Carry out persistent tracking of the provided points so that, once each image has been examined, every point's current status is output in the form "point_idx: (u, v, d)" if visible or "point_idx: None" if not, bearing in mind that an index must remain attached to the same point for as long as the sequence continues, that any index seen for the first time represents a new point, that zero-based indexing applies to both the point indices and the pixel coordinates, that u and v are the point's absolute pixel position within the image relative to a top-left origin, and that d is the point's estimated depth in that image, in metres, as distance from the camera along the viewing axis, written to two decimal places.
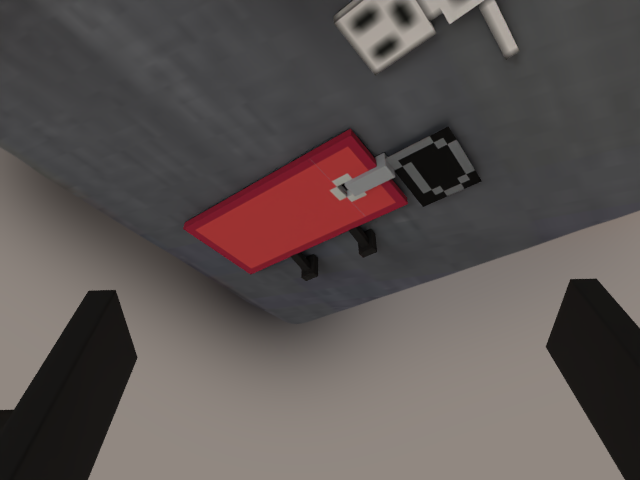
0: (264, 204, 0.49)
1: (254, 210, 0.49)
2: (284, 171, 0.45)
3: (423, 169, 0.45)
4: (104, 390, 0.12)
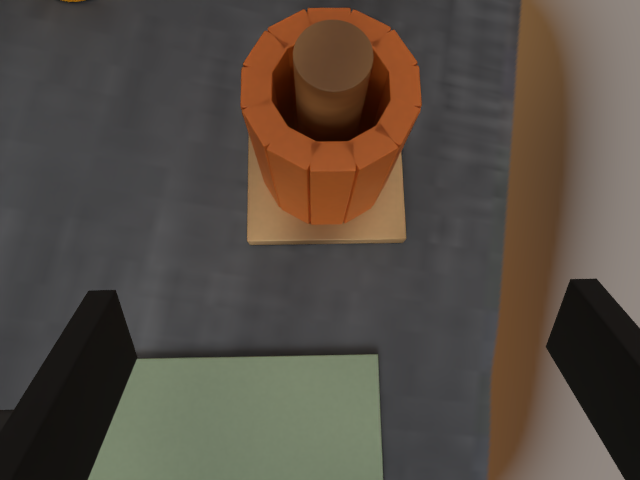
0: None
1: None
2: None
3: None
4: (104, 390, 0.12)
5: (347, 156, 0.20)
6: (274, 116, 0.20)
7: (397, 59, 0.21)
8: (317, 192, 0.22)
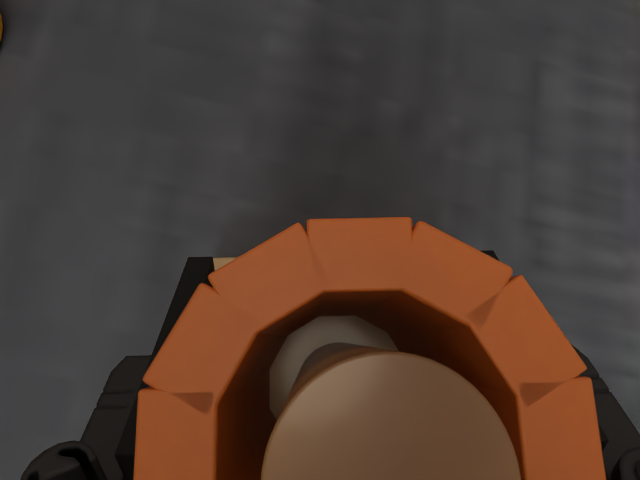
0: None
1: None
2: None
3: None
4: None
5: None
6: None
7: (536, 361, 0.08)
8: None
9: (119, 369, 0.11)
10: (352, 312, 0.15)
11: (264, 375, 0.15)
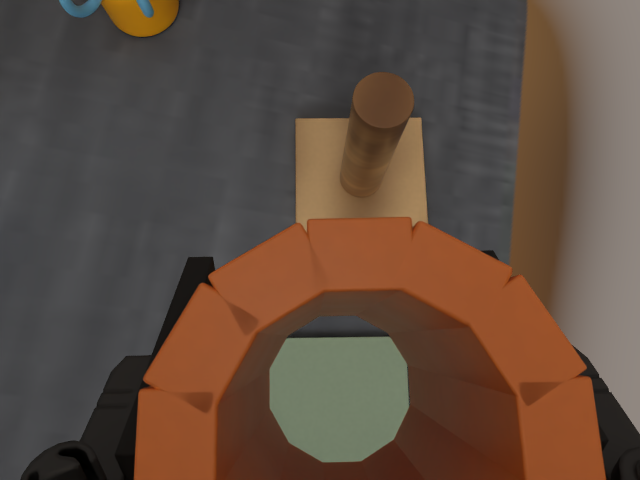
0: None
1: None
2: None
3: None
4: None
5: None
6: None
7: (536, 359, 0.08)
8: None
9: (119, 369, 0.11)
10: (352, 312, 0.15)
11: (264, 375, 0.15)
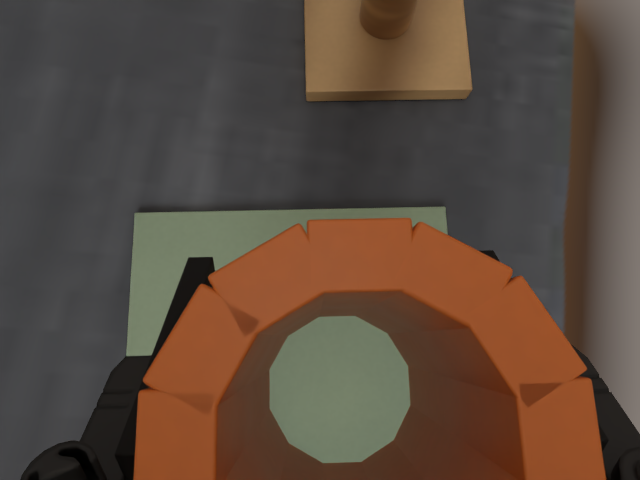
0: None
1: None
2: None
3: None
4: None
5: None
6: None
7: (537, 361, 0.08)
8: None
9: (119, 369, 0.11)
10: (352, 312, 0.15)
11: (264, 375, 0.15)
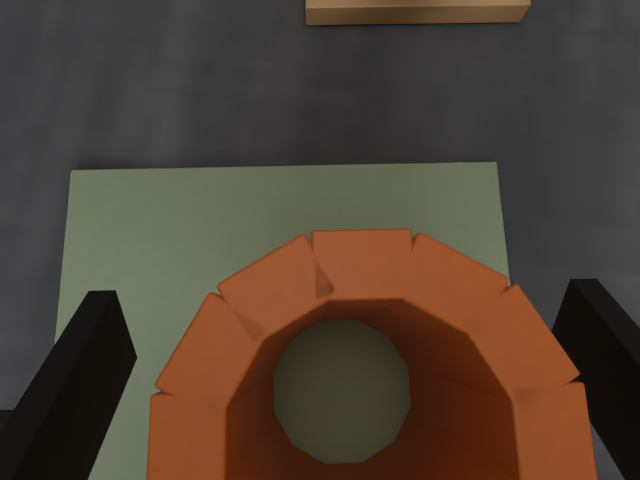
0: None
1: None
2: None
3: None
4: (104, 390, 0.12)
5: None
6: None
7: (531, 366, 0.08)
8: None
9: None
10: (354, 317, 0.16)
11: (268, 378, 0.16)
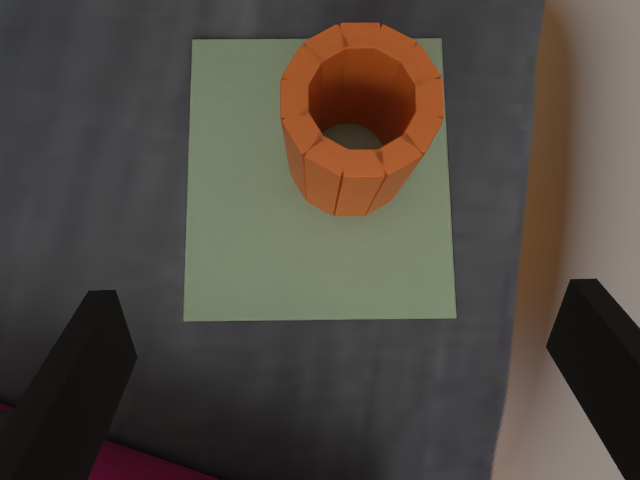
0: None
1: None
2: None
3: None
4: (104, 390, 0.12)
5: (377, 163, 0.22)
6: (311, 126, 0.22)
7: (423, 72, 0.22)
8: (346, 192, 0.25)
9: None
10: (356, 110, 0.30)
11: None
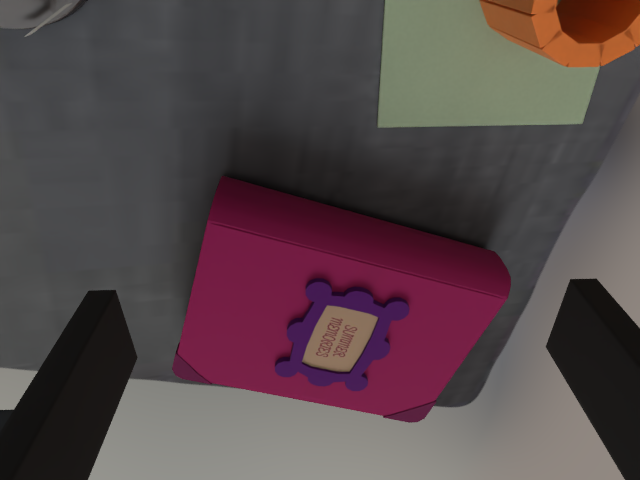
0: None
1: None
2: None
3: None
4: (104, 390, 0.12)
5: (597, 55, 0.28)
6: (554, 22, 0.27)
7: None
8: None
9: None
10: None
11: None
